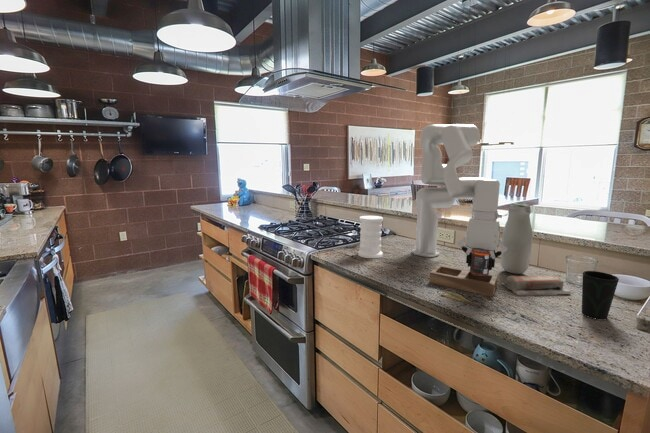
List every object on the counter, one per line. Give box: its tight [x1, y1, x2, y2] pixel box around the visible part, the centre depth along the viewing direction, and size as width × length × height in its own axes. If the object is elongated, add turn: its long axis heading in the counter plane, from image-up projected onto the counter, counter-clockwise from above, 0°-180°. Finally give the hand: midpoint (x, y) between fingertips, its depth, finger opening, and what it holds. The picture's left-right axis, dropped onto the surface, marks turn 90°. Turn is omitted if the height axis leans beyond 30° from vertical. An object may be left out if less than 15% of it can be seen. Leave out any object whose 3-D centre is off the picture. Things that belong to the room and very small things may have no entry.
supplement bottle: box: [469, 248, 491, 276], centre depth 108 cm, size 6×6×11 cm
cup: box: [581, 270, 620, 320], centre depth 90 cm, size 8×8×12 cm
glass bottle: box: [500, 202, 534, 275], centre depth 123 cm, size 10×10×28 cm
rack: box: [428, 264, 498, 298], centre depth 113 cm, size 11×21×4 cm, turn 56°
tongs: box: [440, 291, 482, 308], centre depth 101 cm, size 4×13×2 cm, turn 41°
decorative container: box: [357, 215, 384, 259], centre depth 148 cm, size 12×12×18 cm
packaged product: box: [500, 275, 572, 296], centre depth 109 cm, size 18×5×10 cm
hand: (479, 266), depth 109 cm, fingers closed on supplement bottle, 6 cm apart
